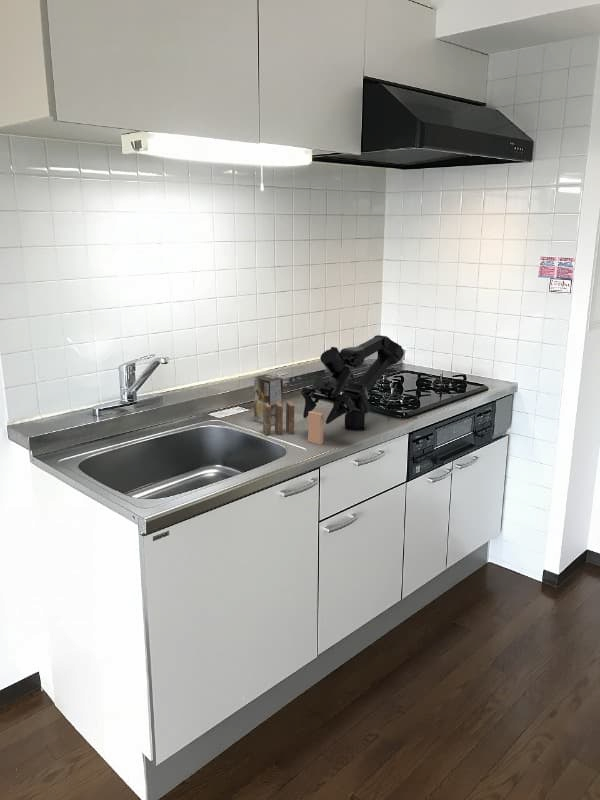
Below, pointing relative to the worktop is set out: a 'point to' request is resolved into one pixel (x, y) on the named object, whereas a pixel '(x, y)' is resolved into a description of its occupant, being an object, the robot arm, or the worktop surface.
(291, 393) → the worktop surface
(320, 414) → the tile
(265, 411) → the walnut tile
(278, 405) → the walnut tile
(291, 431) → the walnut tile
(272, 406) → the coffee box
